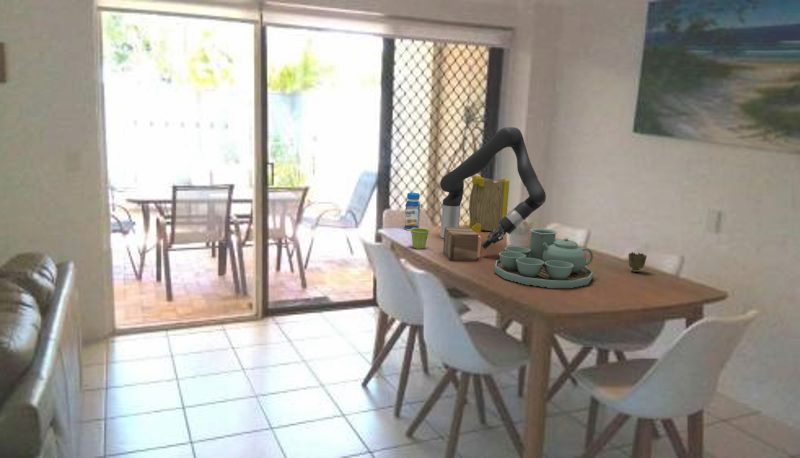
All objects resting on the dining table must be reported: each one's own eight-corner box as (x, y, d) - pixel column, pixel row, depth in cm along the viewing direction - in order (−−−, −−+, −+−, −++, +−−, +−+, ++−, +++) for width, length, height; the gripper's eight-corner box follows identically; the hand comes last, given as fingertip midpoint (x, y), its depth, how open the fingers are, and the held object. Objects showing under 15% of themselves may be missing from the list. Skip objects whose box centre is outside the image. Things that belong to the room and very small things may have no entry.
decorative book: (502, 228, 353) (505, 176, 347) (506, 232, 342) (510, 178, 336) (467, 227, 351) (470, 175, 345) (470, 231, 340) (474, 177, 335)
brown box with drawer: (443, 252, 289) (444, 227, 287) (468, 252, 291) (469, 227, 288) (450, 260, 273) (452, 234, 271) (476, 261, 275) (478, 234, 273)
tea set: (476, 266, 266) (479, 229, 263) (553, 261, 282) (556, 226, 279) (529, 293, 231) (533, 250, 227) (613, 285, 246) (618, 245, 243)
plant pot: (429, 246, 301) (430, 228, 299) (428, 250, 291) (429, 232, 290) (410, 244, 301) (411, 227, 300) (408, 249, 292) (409, 231, 291)
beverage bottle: (422, 229, 340) (424, 193, 336) (412, 231, 334) (413, 194, 330) (411, 227, 345) (413, 191, 342) (400, 228, 339) (402, 192, 335)
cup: (644, 271, 271) (646, 253, 269) (645, 275, 264) (647, 256, 263) (626, 268, 273) (628, 251, 272) (626, 272, 266) (628, 254, 265)
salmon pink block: (453, 250, 287) (454, 231, 286) (473, 250, 289) (474, 231, 287) (459, 256, 276) (460, 236, 274) (479, 257, 277) (481, 237, 275)
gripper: (501, 213, 287) (474, 238, 288) (510, 218, 274) (481, 244, 275) (512, 224, 289) (484, 249, 290) (520, 230, 276) (492, 256, 277)
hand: (483, 247), depth 282 cm, fingers closed
